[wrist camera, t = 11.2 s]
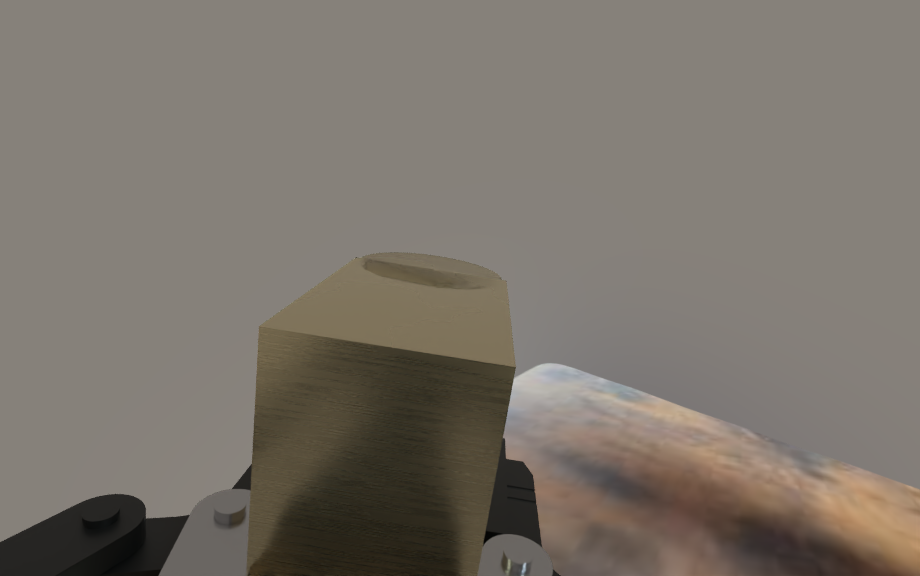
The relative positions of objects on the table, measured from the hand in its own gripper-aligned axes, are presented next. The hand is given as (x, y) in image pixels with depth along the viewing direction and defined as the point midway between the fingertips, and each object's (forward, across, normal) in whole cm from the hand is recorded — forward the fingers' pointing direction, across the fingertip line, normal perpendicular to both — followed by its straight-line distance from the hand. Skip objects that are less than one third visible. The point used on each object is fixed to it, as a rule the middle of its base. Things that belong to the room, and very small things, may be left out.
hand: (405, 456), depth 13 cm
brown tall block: (-3, 0, +6) cm, 7 cm away
